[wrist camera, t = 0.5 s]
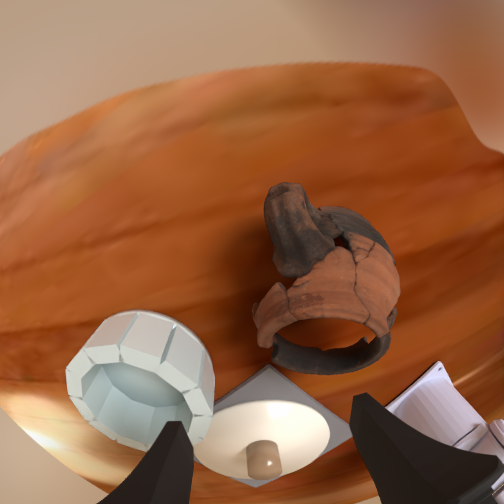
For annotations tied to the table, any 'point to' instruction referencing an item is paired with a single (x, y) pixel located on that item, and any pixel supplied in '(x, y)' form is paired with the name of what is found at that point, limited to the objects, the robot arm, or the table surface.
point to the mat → (279, 387)
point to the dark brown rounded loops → (325, 282)
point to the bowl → (143, 378)
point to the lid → (263, 439)
